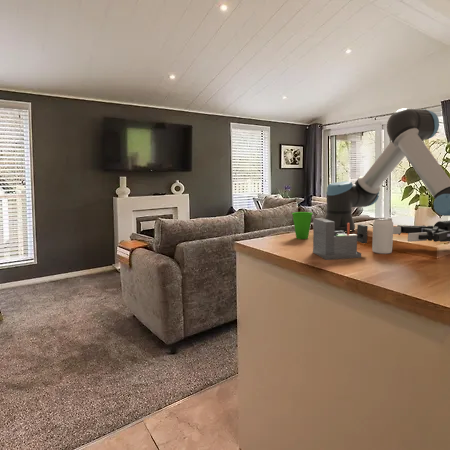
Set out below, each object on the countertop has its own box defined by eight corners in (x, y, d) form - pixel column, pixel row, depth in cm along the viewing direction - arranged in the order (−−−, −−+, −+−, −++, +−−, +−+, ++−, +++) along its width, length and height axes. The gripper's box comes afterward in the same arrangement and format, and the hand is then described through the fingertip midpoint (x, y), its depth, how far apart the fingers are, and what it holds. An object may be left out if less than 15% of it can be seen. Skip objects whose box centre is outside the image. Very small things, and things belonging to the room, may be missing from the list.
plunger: (360, 243, 125) (360, 219, 124) (368, 246, 120) (369, 222, 118) (336, 244, 124) (336, 221, 123) (344, 248, 118) (344, 223, 117)
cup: (290, 236, 159) (290, 212, 157) (310, 235, 159) (310, 211, 157) (293, 240, 150) (293, 214, 148) (314, 239, 150) (315, 214, 148)
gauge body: (345, 250, 128) (346, 216, 126) (361, 257, 117) (362, 220, 116) (312, 252, 126) (313, 218, 125) (325, 259, 116) (326, 222, 114)
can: (396, 252, 123) (397, 218, 121) (384, 255, 120) (385, 220, 118) (380, 249, 129) (381, 216, 127) (368, 251, 126) (369, 218, 124)
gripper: (478, 248, 115) (419, 252, 112) (424, 235, 139) (375, 238, 136) (480, 225, 114) (421, 228, 111) (425, 216, 138) (375, 219, 135)
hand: (395, 234), depth 123 cm, fingers open, 13 cm apart
